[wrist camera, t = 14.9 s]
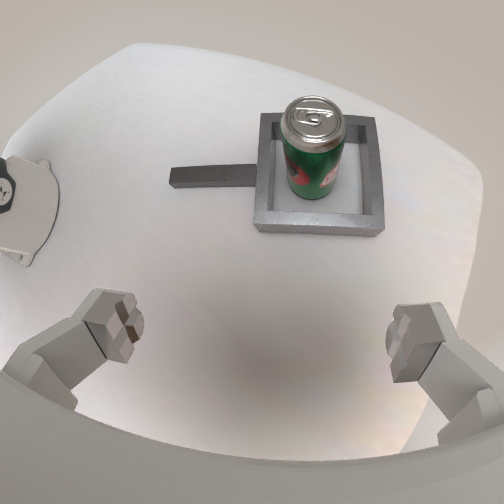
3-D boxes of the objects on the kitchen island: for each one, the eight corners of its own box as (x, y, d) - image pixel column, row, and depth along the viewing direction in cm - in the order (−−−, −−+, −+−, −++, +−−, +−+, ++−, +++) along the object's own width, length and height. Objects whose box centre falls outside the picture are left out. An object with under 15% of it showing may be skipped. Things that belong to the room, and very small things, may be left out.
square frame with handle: (168, 229, 32) (152, 222, 28) (183, 137, 33) (170, 121, 29) (374, 236, 28) (384, 229, 24) (368, 135, 29) (374, 117, 25)
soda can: (328, 206, 29) (342, 156, 17) (282, 194, 30) (269, 138, 18) (338, 165, 29) (353, 100, 18) (295, 153, 30) (288, 86, 19)
